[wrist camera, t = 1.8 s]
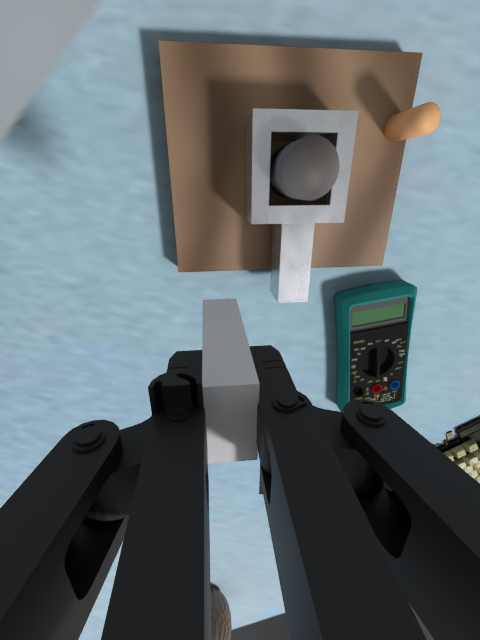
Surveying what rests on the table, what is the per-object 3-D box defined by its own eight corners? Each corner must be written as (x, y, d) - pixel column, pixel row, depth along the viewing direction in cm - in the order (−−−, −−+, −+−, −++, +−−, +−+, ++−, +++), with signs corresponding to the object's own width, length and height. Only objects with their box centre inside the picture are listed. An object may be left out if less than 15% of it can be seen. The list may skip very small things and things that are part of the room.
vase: (235, 583, 48) (242, 663, 40) (220, 607, 50) (224, 687, 42) (193, 579, 46) (191, 662, 38) (179, 605, 48) (175, 687, 40)
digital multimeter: (334, 407, 36) (345, 425, 33) (331, 289, 30) (344, 299, 27) (393, 394, 36) (408, 411, 34) (402, 276, 30) (422, 285, 27)
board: (179, 267, 27) (173, 291, 21) (161, 50, 21) (145, -5, 15) (373, 261, 29) (418, 281, 23) (409, 60, 22) (483, 16, 17)
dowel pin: (382, 141, 23) (411, 134, 20) (386, 113, 22) (417, 101, 19) (404, 142, 23) (436, 135, 20) (409, 114, 23) (443, 102, 19)
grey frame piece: (246, 118, 21) (252, 108, 19) (339, 120, 22) (358, 110, 19) (245, 291, 26) (250, 304, 24) (320, 288, 27) (333, 300, 24)
